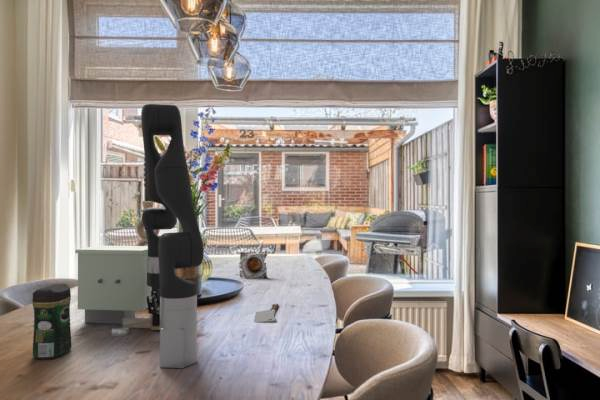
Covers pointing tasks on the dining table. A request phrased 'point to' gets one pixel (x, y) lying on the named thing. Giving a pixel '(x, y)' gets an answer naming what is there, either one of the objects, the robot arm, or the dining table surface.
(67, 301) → the coffee jar
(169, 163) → the robot arm
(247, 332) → the dining table surface
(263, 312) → the kitchen cleaver
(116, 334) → the steel puck
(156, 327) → the wooden mallet
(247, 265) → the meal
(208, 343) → the dining table surface
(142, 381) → the dining table surface
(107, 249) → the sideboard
